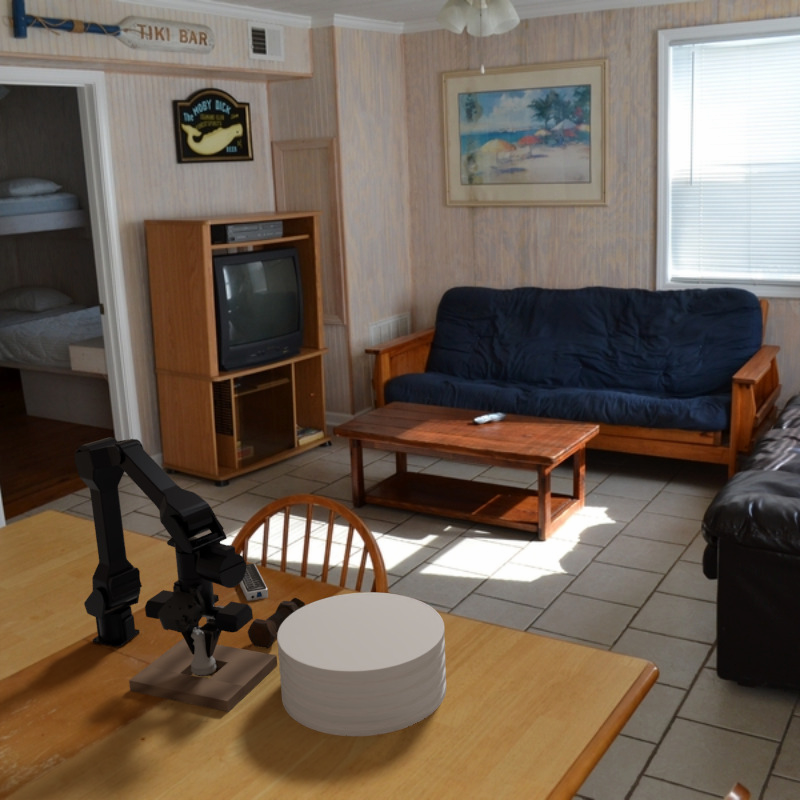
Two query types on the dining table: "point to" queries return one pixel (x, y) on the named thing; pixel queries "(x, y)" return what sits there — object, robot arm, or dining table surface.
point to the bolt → (272, 623)
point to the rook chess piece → (201, 655)
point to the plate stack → (362, 663)
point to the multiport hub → (253, 584)
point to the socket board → (218, 692)
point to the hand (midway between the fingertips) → (202, 655)
